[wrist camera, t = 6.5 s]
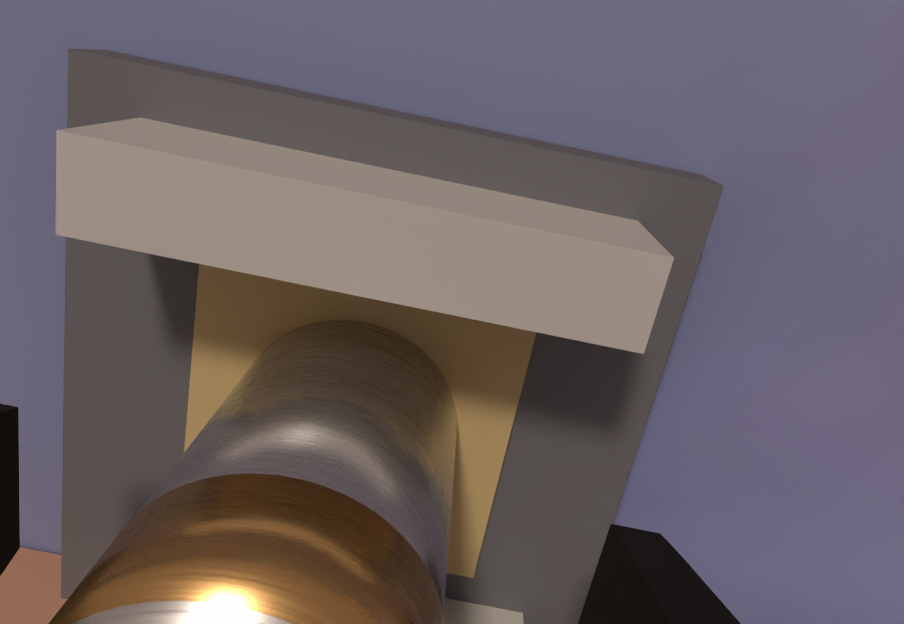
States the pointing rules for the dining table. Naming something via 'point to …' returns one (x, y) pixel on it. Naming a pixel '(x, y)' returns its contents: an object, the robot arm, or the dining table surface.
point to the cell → (297, 497)
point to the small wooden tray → (31, 588)
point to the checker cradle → (366, 301)
